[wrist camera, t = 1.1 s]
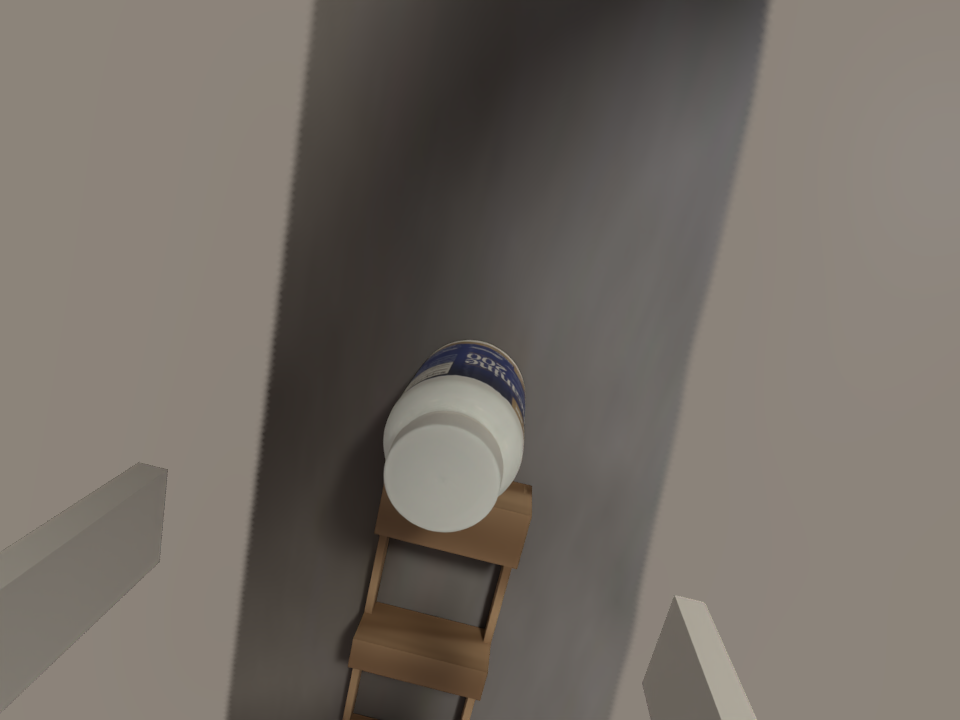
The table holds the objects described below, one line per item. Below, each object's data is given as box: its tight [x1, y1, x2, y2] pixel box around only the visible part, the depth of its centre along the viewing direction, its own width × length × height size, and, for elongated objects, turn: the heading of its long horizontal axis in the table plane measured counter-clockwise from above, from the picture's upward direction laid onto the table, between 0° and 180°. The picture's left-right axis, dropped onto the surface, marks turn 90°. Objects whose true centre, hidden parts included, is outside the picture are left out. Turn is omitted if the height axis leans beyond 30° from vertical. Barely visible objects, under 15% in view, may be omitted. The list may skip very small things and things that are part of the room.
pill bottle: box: [383, 340, 525, 532], centre depth 24 cm, size 5×5×10 cm
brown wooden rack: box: [343, 481, 532, 720], centre depth 31 cm, size 20×7×3 cm, turn 167°
